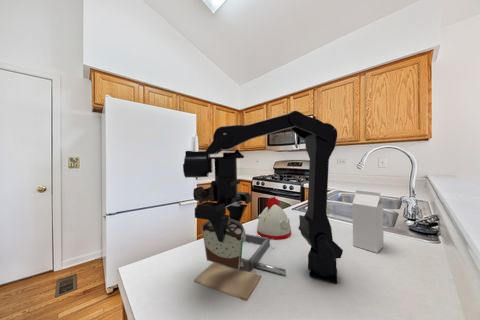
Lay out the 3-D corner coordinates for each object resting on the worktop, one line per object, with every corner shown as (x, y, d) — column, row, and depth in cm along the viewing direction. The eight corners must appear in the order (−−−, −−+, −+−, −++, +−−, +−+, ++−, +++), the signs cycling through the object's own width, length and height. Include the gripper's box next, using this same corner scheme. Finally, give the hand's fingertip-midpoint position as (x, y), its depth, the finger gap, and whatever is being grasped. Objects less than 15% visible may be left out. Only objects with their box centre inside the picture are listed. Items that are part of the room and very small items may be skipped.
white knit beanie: (250, 232, 78) (249, 197, 78) (270, 224, 87) (270, 192, 87) (277, 243, 68) (276, 202, 68) (297, 232, 77) (296, 196, 77)
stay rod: (286, 273, 50) (285, 268, 50) (284, 276, 49) (284, 271, 49) (251, 264, 55) (251, 259, 54) (250, 267, 53) (249, 262, 53)
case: (269, 245, 66) (269, 238, 66) (250, 272, 51) (249, 263, 51) (240, 239, 72) (239, 232, 72) (213, 261, 56) (213, 253, 56)
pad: (261, 277, 49) (261, 275, 49) (246, 300, 41) (246, 298, 41) (214, 263, 56) (214, 262, 56) (193, 281, 48) (193, 279, 48)
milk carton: (377, 253, 59) (376, 194, 59) (352, 245, 65) (352, 191, 65) (383, 246, 64) (383, 191, 64) (360, 239, 69) (359, 189, 69)
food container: (253, 256, 50) (253, 222, 48) (244, 273, 44) (243, 234, 42) (214, 245, 55) (213, 213, 53) (202, 258, 49) (200, 223, 48)
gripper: (219, 173, 60) (221, 221, 60) (175, 179, 43) (177, 246, 43) (251, 173, 55) (252, 226, 55) (215, 181, 38) (217, 256, 38)
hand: (227, 236), depth 48 cm, fingers closed on food container, 6 cm apart
